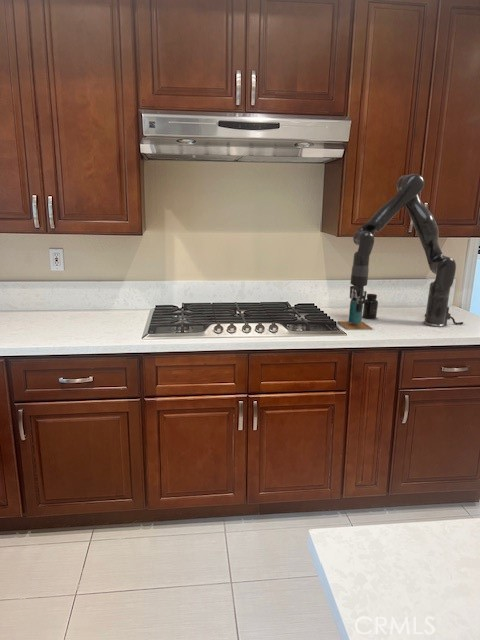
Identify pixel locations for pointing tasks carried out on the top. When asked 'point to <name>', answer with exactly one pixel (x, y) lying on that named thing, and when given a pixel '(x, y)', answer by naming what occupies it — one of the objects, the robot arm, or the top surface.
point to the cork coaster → (354, 325)
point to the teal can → (354, 312)
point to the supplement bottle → (370, 307)
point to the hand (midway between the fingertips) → (355, 310)
